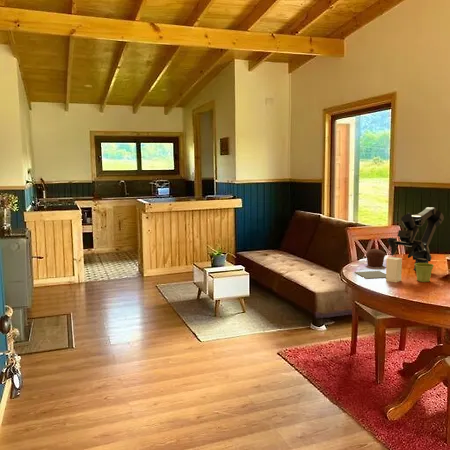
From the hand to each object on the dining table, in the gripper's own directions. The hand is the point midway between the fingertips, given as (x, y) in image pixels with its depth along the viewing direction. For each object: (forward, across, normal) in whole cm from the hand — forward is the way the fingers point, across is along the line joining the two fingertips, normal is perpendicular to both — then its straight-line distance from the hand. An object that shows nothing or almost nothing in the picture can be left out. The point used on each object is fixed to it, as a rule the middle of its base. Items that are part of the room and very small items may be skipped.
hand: (399, 256), depth 240 cm
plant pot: (+6, +11, +12) cm, 17 cm away
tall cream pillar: (+13, 0, +4) cm, 14 cm away
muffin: (-7, -27, +24) cm, 37 cm away
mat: (+10, -14, +7) cm, 19 cm away
